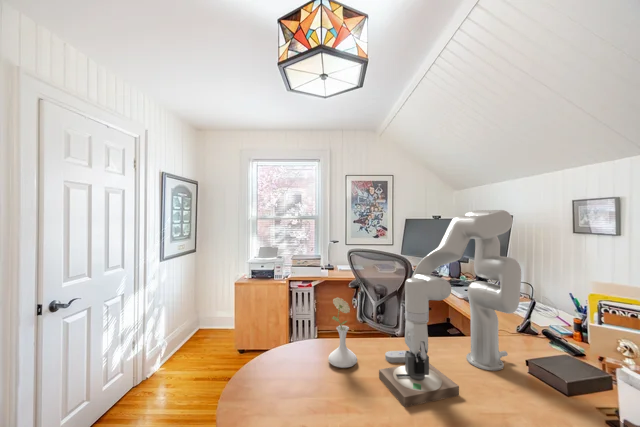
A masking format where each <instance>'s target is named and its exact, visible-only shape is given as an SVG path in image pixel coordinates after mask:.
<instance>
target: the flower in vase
mask: <svg viewBox="0 0 640 427" xmlns="http://www.w3.org/2000/svg"><path fill="white" fill-rule="evenodd" d="M332 303H333V305H334V307H336V309H337V310H338V313H337V316H339V315H340V312H342V313H344V314H348V313H350V310H351V308H350V305H349V303H348V302H347V301H346V300H344V299H343V298H340V297H336V298H333V299H332ZM331 319H332V320H334V321H336V322H338V323H339V325H338V326H336V327H335V328H336V330H337V332H338V336H339V346H338V347H337V348H336V349H334V350H333V351H332V352H330V353H329V355H328V358H327V361H328V362H329V363H330V364H331V365H332V366H333V367H336V368H342V369H344V368H345V369H347V368H351V367H353V366H355V365H356V364H357V363H358V357H357V355H356V354H355V353H354V352H353V351H352V350H351V349H349V348H348V347H347V344H346V343H347V342H346V341H347V340H346V338H347V333H348V331H349V329H350V327H349V326H348V325H345V324H346V323H347V322H348V320H344V321H342V322H340V319H339V317H336V316H335V315H334V316H332V318H331Z"/></svg>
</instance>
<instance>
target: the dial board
mask: <svg viewBox="0 0 640 427" xmlns="http://www.w3.org/2000/svg"><path fill="white" fill-rule="evenodd" d="M396 374H407V372H406V371H405V364H404V365H398V366H393V367H386V368H380V369H379V370H378V378H379V380H380V381H381V382H382V383H383V384H384V385H385V386H386V387H387V389H388V390H389V391H390V392H391V393H392V395H393V396H394V397H395V398H396V400H398V402H399V403H400V404H401V405H402V406H403V407H404V408H407V407H412V406H417V405H420V404H426V403H430V402H436V401H439V400H444V399H449V398H453V397H458V396H460V385H458V384H457V383H455V382H454V381H453V379H451V378H449V377H448V376H447V375H446V374H444V373H443V372H441V371H440V370H439V369H437V368H436V367H435V366H434V365H432V364H431V363H430V362H429V375H425V379H424V380H414V379H412V378H411V377H397V376H396Z"/></svg>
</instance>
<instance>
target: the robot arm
mask: <svg viewBox="0 0 640 427" xmlns="http://www.w3.org/2000/svg"><path fill="white" fill-rule="evenodd" d="M512 226H513V217H512V215H511V214H510V212H508V211H507V210H504V209H478V210H471V211H470V210H469V211H467V212H466V213H465V214H464V215H458V216H455V217H454V218H451V220H450V222H449V224H448V226H447V228H446V231H445V233H444V234H443V237H442V239H441V240H440V243H439V245H438V246H437V247H436V248H435V249H434V250H432V251H431V252H429V253H428V254H427V255H426V256H424V257H423V258H421V260H420V261H419V262H418V264H417V265H416V266H415V269H414V271H413V273H412V275H411V277H410V278H407V279H406V280H405V282H404V310H405V311H404V319H405V325H404V326H405V328H404V342H405V345H406V346H407V347H408V349H409V350H410V353H413V354H415V361H414V372H415V374H424V362H425V360H426V359H427V358H426V354H427V355H428V352H429V334H428V323H429V322H430V321H429V301H443V300H446V299H447V298H449V296H451V293H452V286H451V284H450V282H449V281H447V280H446V279H445V278H442V277H439V276H435V275H431V274H432V273H433V272H434V271H435V270H436V269H438V268H439V267H442V266H444V265H448V264H450V263H451V264H452V263H455V262H458V261H459V260H461V259H462V257H463V256H464V253H465V251H466V248H467V246H468V244H469V242H470V241H471V240H472V239H473V240H474V242H475V243H474V244H475V248H474V250H475V252H474V262H473V270H474V273H475V275H476V276H477V277H478V278H482V279H487V280H491V281H495V282H499V284H496V283H492V282H487V281H484V280H483V281H481V280H476V281H473V282H471V283H470V284H469V285H468V287H467V292H466V293H467V297H468V302H469V309H470V310H469V312H470V314H469V315H470V352H468V353H467V354H466V355H465V356H466V358H465V359H466V361H467V362H468V363H469V364H471V366H473V367H477V368H478V369H481V370H485V371H494V372H495V371H501V370H503V369H504V362H503V361H502V360H501V359H502V358H503V357H508V356H509V355H508V352H507V351H506V350H502V351H501V350H499V347H500V346H499V340H500V339H499V318H498V317H499V316H498V315H497V312H501V313H504V314H508V315H509V314H510V315H511V314H514V313H515V312H516V311H517V310H518V308H519V305H520V300H521V299H520V297H521V286H522V268H521V265H520V263H519V262H518V260H516V259H515V258H513V257H509V256H504V255H503V256H501V243H500V239H499V238H498V236H500V235H503V234H505V233H507V232H508V231H509V230H510V229H511V227H512ZM496 311H497V312H496ZM418 354H421V356H419V357H418Z"/></svg>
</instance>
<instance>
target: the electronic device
mask: <svg viewBox="0 0 640 427" xmlns="http://www.w3.org/2000/svg"><path fill="white" fill-rule="evenodd" d="M405 353H410V349H409V350H389V351H386V352H385V353H384V354H385V355H384V356H385V361H386V362H388V363H391V364H392V363H393V364H394V363H395V364H397V363H398V364H400V363H401V364H403V363H405Z"/></svg>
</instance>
